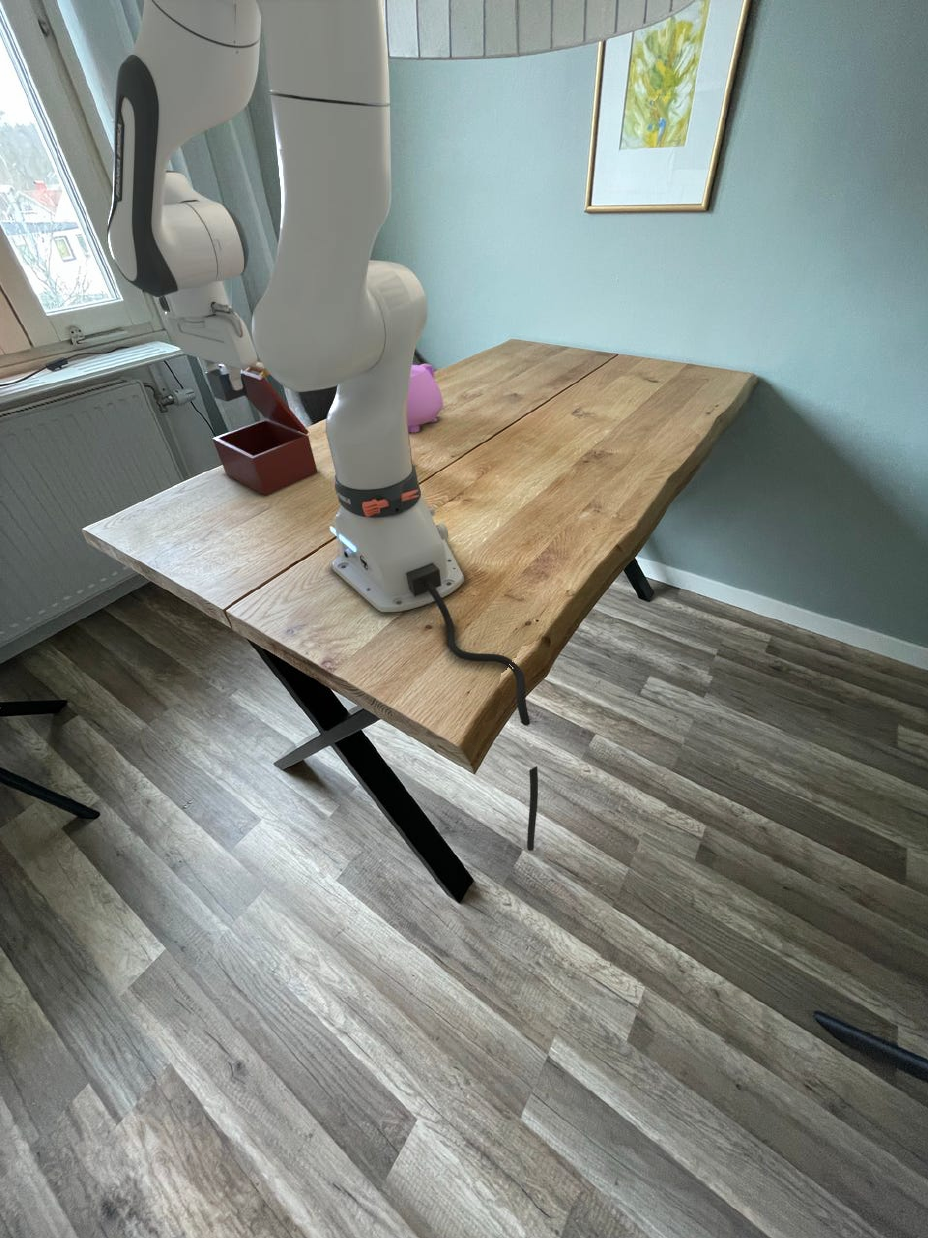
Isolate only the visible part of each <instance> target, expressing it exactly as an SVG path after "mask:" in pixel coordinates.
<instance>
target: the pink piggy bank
mask: <svg viewBox="0 0 928 1238" xmlns="http://www.w3.org/2000/svg"><path fill="white" fill-rule="evenodd" d="M443 406H444V399H443V395H442V392H441V388H440V387H439V385H438V383H437V381H436V380H435V369H434V367H433V365H431V364H430V363H422V364H420V365H419V364H412V368H411V375H410V382H409V389H408V399H407V424H408V432H409V433H417V432H420V431H421V428H420V425H423V424H426V423H435V422H437V421H438V418H437V417H438V416H439V414H440V413H441V411H442V409H443Z"/></svg>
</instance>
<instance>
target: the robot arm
mask: <svg viewBox="0 0 928 1238" xmlns="http://www.w3.org/2000/svg"><path fill="white" fill-rule="evenodd" d="M384 13H385V12H384V6H383V0H143V11H142V17H141V23H140V27H139V31H138V35H137V37H136V41H135V44H134V46H133V48H132V50H131V52H130V54H129V55H128V56H127V58H125V60H124V61H123V62H122V63H121V65H120V67H119V69H118V73H117V78H116V89H115V101H114V102H115V104H114V105H115V106H114V130H113V131H114V134H113V137H114V138H113V142H114V143H113V181H112V186H113V187H112V188H113V189H112V202H111V203H112V204H111V207H110V208H111V210H110V213H109V218H108V221H107V223H108V224H107V230H106V233H107V235H106V236H107V244H108V248H109V250H110V254H111V257H112V259H113V262H114V263H115V265H116V267H117V270H118V272H120V274H121V275H122V276H123V277H124V279H125V280H126V281H127V282H129V283H130V284H131V285H133V286H134V287H136V288H137V289H139V290H140V291H142V292H144V293H146V294H148V295H150V296H153V297H155V298H156V301H157V304H158V307H159V308H160V310H161V311H162V312H165V318H166V322H167V324H168V327H169V329H170V332H171V334H172V337H173V338H174V341H175V343H176V345H177V347H178V348H179V350H180V351H181V353H183V354H184V355H186V356H191V357H194V358H198V359H200V361H201V364H202V365H203V367H204V368H205V370H206V372H209V371H212V370H215V369H218V368H219V366H218V365H217V364H223V365H225V367H226V370H227V371H229V379H228V383H229V386H230V388H231V389H233V390H240V389H242V388H243V385H242V382H241V370H246V369H247V368H248V367H251V366H254V365H256V364H257V361H258V359H259V362H261V363H262V364H263V366H264V367H265V369H266V370H267V371H268V372H269V374H270V375H269V376H271V377H272V378H273V379H274V380H275V381H276V382H278V384H280V385H281V386H283V388H286V389H288V390H290V391H292V392H297V393H303V392H311V391H319V390H324V389H329V388H333V387H336V393H335V396H334V399H333V402H332V403H331V406H330V408H329V410H328V412H327V416H326V419H325V433H326V438H327V442H328V446H329V452H330V455H331V461H332V465H333V468H334V472H335V474H334V477H333V480H334V489H335V493H336V495H337V499H338V502H339V504H340V505H339V509H338V510H337V513H336V515H335V516H334V518H333V526H334V527H333V526H331V525H330V526H329V529H330V532H331V533H333V534H334V535H335V536H336V540H337V545H338V550H339V551H338V552H339V555H338V556H337V558H335V559H334V560H333V562H332V569H333V571H334V573H336V574H337V575H338V576H339V577H340V578H341V579H343V580H344V581H345V582H346V583H347V584H348V585H349V586H351V588H353V590H355V591H356V592H357V593H358V594H359V595H360V596H361V597H363V598H364V599H365V600H366V601H367V602H368V603H369V604H371V605H372V606H373V607H374V608H375V609H376V610H378V612H381V613H399V612H405V611H409V610H413V609H416V608H419V607H420V608H421V607H423V606H425V605H428V604H431V603H433V602H435V604H436V605H437V607H438V609H439V611H440V613H441V615H442V618H443V621H444V623H445V626H446V632H447V636H446V637H447V639H446V642H447V646H448V648H449V650H450V651H451V652H452V653H453V654H454V655H455V656H457V657H458V658H460V659H463V660H465V661H471V662H490V663H491V662H492V663H497V664H502V665H504V666H505V667H507V668H509V670H511V672H512V673H513V674H514V677H515V681H516V704H517V709H518V714H519V720H520V722H521V724H522V726H526V727H528V726H529V725H530V724H531V720H530V716H529V712H528V707H527V700H526V679H525V675H524V673H523V670H522V669H521V668H520V667H519V665H518V664H517V663H516V662H515V661H513V659H511V658H509V657H508V656H506V655H502V654H497V653H483V652H482V653H479V652H470V651H465V650H463V649H462V648H460V647H458V645H457V644H456V640H455V626H454V621H453V619H452V616H451V614H450V611H449V609H448V607H447V605H446V603H445V601H444V599H443V598H445V597H446V596H448V595H450V594H452V593H453V592H455V591H456V590H457V589H458V588H460V587H461V586H462V585H463V583H464V582H465V576H464V574H463V572H462V570H461V567H460V566H459V564H458V562H457V560H456V559H455V556H454V554H453V552H452V550H451V549H450V547H449V545H448V543H447V541H446V540H447V539H449V531H448V527H447V525H446V524H445V523H442V524H437V525H436V523H435V521H434V520H435V519H434V518H433V517H434V516H435V515H436V512H435V508H434V506H430V507H429V506H428V505H427V502H426V500H425V498H424V492H423V491H421V487H420V481H419V476H418V474H417V472H416V471H417V470H416V468H415V465H414V464H413V462H412V463H411V455H412V454H411V455H410V447H411V445H410V446H409V440H410V435H409V436H408V432H409V431H408V426H407V399H408V389H409V382H410V375H411V368H412V365H413V361H414V356H415V352H416V348H417V345H418V343H419V340H420V338H421V335H422V334H423V331H424V330H425V327H426V325H427V324H426V323H427V321H428V320H427V319H428V303H427V297H426V292H425V290H424V288H423V285H422V284H421V282H420V280H419V279H418V277H417V276H416V275H415V274H414V272H412V271H411V270H410V269H409V268H408V267H407V266H405V265H403V264H401V263H398V262H393V261H387V260H371V256H372V252H373V249H374V244H375V242H376V239H377V236H378V234H379V232H380V229H381V228H382V226H383V225H384V223H385V222H386V219H388V218H387V217H388V215H389V212H390V209H391V205H392V149H391V148H392V147H391V145H392V143H391V142H392V141H391V138H392V137H391V105H389V104H390V103H391V94H390V93H391V92H390V71H389V55H388V43H387V42H388V41H387V34H386V23H385V15H384ZM261 28H262V29H261ZM262 30H263V38H264V40H263V41H264V51H265V61H266V62H265V63H266V70H267V71H266V72H267V79H268V87H269V92H271V93H270V94H269V95H270V103H271V111H272V119H273V126H274V127H273V129H274V135H275V144H276V153H277V162H278V170H279V181H280V194H281V197H280V198H281V199H280V200H281V205H280V207H281V210H280V211H281V212H280V227H279V235H278V243H277V250H276V255H275V259H274V264H273V269H272V272H271V276H270V279H269V282H268V283H267V286H266V289H265V291H264V293H263V294H262V297H261V298H260V300H259V301H258V303H257V304H256V306H255V308H254V309H253V312H252V316H251V335H250V332H249V330H248V327H247V325H246V323H245V322H244V320H243V319H242V317H240V316H239V314H238V313H236V311H235V310H234V309H233V307H232V306H231V305H230V304H229V299H228V297H227V293H226V291H225V287H224V285H223V281H226V280H232V279H235V278H237V277H238V276H242V275H243V274H244V272H245V271H246V268H247V265H248V262H249V257H250V250H249V243H248V239H247V235H246V233H245V229H244V228H243V224H242V222H241V221H240V220H239V218H238V217H237V216H236V215H235V213H233V211H232V210H231V209H229V208H228V207H227V206H226V205H224V204H223V203H221V202H219V201H217V202H216V201H213V200H212V199H209V198H208V197H205V196H203V195H202V194H200V193H199V192H197V191H196V190H195V189H193V187H192V185H191V183H190V182H189V180H188V178H187V177H186V176H185V175H184V174H182V172H178V171H174V170H167V168H168V165H169V162H170V160H171V159H172V157H173V155H174V154H175V153H176V152H177V150H179V148H180V147H182V146H183V145H184V144H185V143H187V142H188V141H190V140H191V139H193V138H194V137H196V136H198V135H200V134H201V133H204V132H205V131H207V130H210V129H212V128H214V127H216V126H219V125H221V124H223V123H226V122H228V121H230V120H232V119H233V118H235V117H237V116H238V115H239V114H240V113H241V112H242V111H243V110H244V109H245V108H246V107H247V105H248V104H249V102H250V101H251V99H252V95H253V93H254V91H255V87H256V83H257V78H258V73H259V64H260V52H261V51H260V50H261V33H262V32H261V31H262ZM512 661H513V662H512ZM514 662H515V663H516V664H515V663H514ZM509 664H510V665H511V666H512V667H513V668H514V669H512V667H511V666H510V665H509ZM528 771H529V772H528V773H529V811H528V822H527V823H528V824H527V836H526V838H527V839H526V848H527V851H529V852H532V851H534V849H535V833H536V822H537V816H538V815H537V813H538V802H539V801H538V800H539V773H538V765H536V766H535V767H532V768H529V770H528Z"/></svg>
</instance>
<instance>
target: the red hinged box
mask: <svg viewBox="0 0 928 1238" xmlns="http://www.w3.org/2000/svg"><path fill="white" fill-rule="evenodd" d="M212 441H213V444H214V447H215V449H216V452H217V454H218V456H219V459H220V462H221V464H222V467H223V470H224V473H225V475H227V476H229V477H231V478H233V479H234V480H236V481H238V482H239V483H242V484H243V485H245V486H247V487H249V488H251V489H252V490H254V491H256V492H257V493H259V494H261V495H263V496H265V497H266V496H268V495H270V494H273V493H276V492H277V491H280V490H282V489H283V488H285V487H288V486H290V485H293V484H294V483H297V482H300V481H301V480H304V479H306V478H308V477H310V476H313V475H315V474H317V473H318V471H319V470H318V468H317V464H316V460H315V456H314V452H313V448H312V445H311V440H310V437H309V435H308V434H307V435H306V434H303V433H301V432H299V431H296V430H294V429H291V428H289V427H286V426H284V425H281V424H279V423H277V422H274V421H272V420H269V419H267V418H264V419H262V420H259V421H256V422H253V423H251V424H248V425H246V426H243V427H240V428H237V429H235V430H232V431H229V432H226V433H223V434H221V435H218V436H215V437H213V438H212Z"/></svg>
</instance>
